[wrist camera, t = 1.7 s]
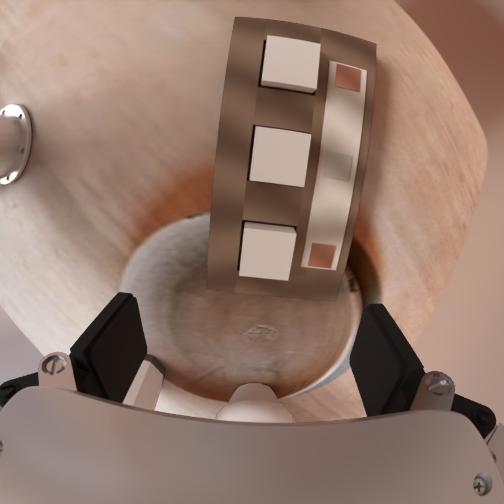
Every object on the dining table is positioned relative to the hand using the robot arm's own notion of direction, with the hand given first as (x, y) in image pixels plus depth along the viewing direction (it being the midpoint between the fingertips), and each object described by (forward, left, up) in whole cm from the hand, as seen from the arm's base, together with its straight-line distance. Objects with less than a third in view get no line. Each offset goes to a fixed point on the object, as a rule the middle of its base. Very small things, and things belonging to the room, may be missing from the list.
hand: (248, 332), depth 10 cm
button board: (+7, +3, -21) cm, 22 cm away
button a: (-1, -3, -19) cm, 19 cm away
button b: (+6, +4, -19) cm, 20 cm away
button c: (+12, +11, -18) cm, 25 cm away
